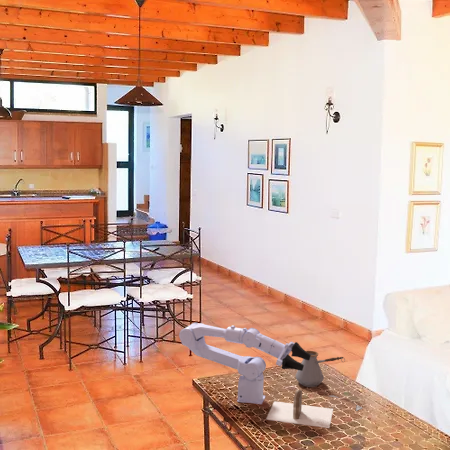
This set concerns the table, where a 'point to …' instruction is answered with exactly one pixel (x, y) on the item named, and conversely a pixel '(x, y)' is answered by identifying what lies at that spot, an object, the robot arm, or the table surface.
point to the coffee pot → (312, 370)
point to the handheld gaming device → (356, 405)
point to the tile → (297, 404)
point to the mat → (307, 416)
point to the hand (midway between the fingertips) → (306, 362)
